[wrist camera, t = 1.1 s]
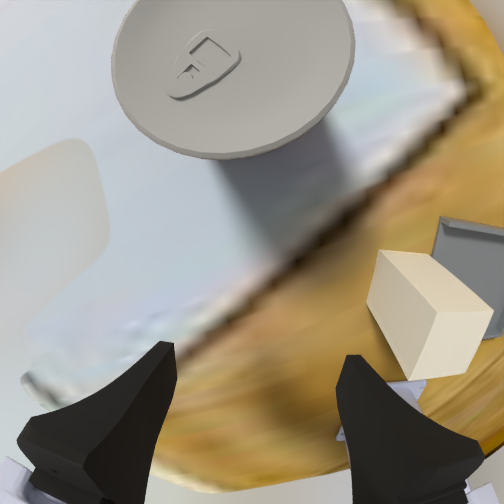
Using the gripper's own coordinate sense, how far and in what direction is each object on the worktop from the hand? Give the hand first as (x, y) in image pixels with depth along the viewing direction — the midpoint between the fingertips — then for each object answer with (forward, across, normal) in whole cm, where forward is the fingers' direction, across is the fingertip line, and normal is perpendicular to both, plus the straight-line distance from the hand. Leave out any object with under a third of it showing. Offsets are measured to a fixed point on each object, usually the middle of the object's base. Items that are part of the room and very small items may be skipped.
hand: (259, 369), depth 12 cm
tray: (+10, -19, 0) cm, 22 cm away
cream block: (+10, -11, 0) cm, 15 cm away
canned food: (+11, +2, -12) cm, 16 cm away
